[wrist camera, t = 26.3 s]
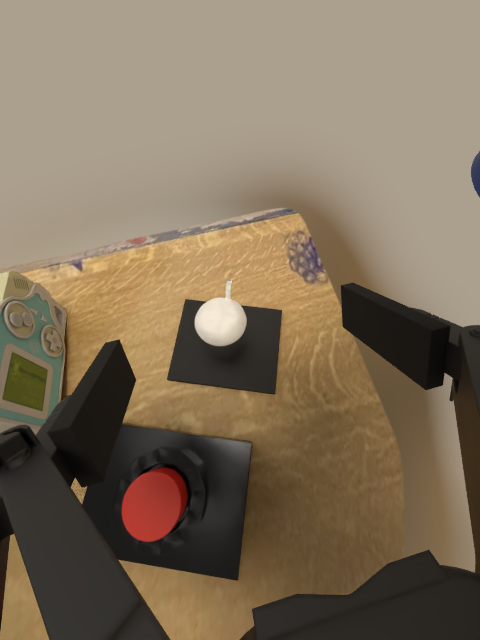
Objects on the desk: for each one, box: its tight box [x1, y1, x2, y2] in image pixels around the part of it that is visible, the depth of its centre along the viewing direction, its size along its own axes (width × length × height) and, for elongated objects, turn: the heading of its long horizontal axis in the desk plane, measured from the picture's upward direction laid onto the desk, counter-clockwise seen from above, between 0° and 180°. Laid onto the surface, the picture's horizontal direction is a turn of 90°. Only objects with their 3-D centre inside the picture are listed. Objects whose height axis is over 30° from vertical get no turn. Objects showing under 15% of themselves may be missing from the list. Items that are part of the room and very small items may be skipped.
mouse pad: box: [167, 299, 282, 394], centre depth 32 cm, size 12×10×1 cm
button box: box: [82, 423, 252, 580], centre depth 24 cm, size 14×10×5 cm
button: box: [122, 467, 188, 542], centre depth 21 cm, size 4×4×2 cm
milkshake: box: [195, 280, 247, 360], centre depth 27 cm, size 4×5×10 cm
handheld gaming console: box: [0, 271, 67, 435], centre depth 27 cm, size 11×3×15 cm
